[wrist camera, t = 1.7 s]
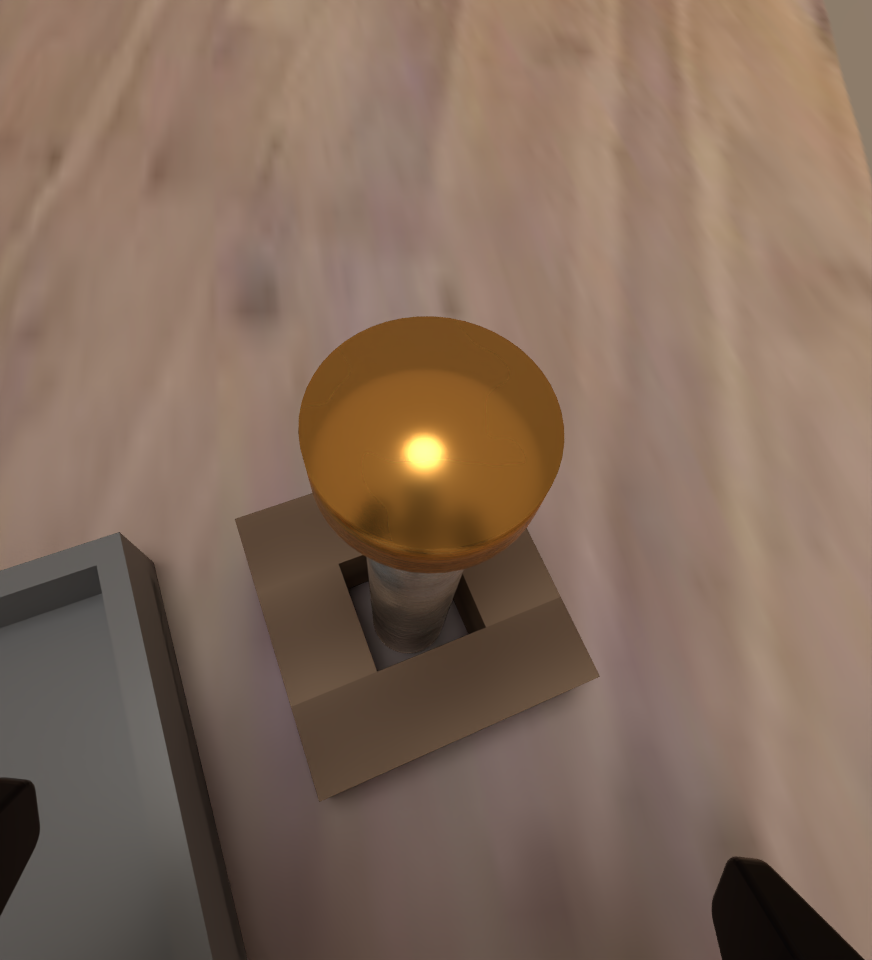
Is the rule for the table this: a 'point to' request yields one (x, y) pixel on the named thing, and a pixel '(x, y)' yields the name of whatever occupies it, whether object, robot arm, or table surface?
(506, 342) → the pin
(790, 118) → the table surface
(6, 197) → the table surface
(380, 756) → the hitch block
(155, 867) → the tray
